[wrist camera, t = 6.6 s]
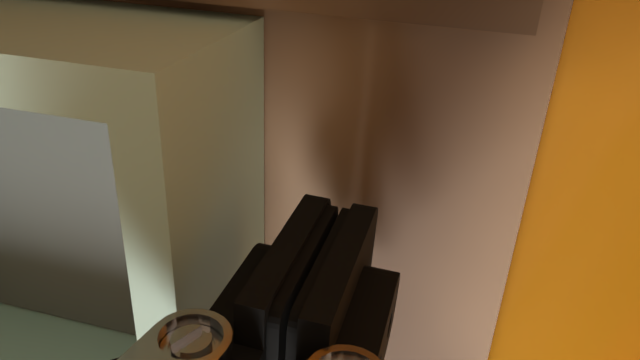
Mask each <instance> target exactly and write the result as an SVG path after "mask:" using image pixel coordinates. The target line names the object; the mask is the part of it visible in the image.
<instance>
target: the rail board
mask: <svg viewBox="0 0 640 360" xmlns="http://www.w3.org/2000/svg"><path fill="white" fill-rule="evenodd" d="M103 1H113V2H123V3H133V4H143V5H153V6H163V7H173V8H183V9H193V10H203V11H213V12H222V13H232V14H242V15H252V16H262V17H264V244H268V245H272V243H273V242H274V240H275V239H276V237H277V236H278V234H279V233H280V231H281V230H282V228H283V227H284V225H285V224H286V222H287V221H288V219H289V218H290V216H291V215H292V213H293V212H294V210H295V209H296V207H297V205H298V204H299V202H300V201H301V199H302V198H303V196H304V195H305V194H309V195H314V196H319V197H324V198H330V200H331V205H332V206H337V207H338V215H339V213H340V211H341V209H342V208H348V209H350V208H351V206H352V204H353V203H356V204H362V205H367V206H372V207H377V208H378V217H377V225H376V233H375V241H374V249H373V256H372V264H371V267H376V268H381V269H385V270H390V271H395V272H400V281H399V288H398V294H397V301H396V307H395V312H394V318H393V323H392V328H391V333H390V337H389V342H388V346H387V350H386V354H385V358H384V360H487V359H488V355H489V351H490V347H491V343H492V339H493V334H494V330H495V326H496V322H497V318H498V314H499V309H500V305H501V301H502V297H503V293H504V289H505V284H506V280H507V276H508V272H509V268H510V263H511V259H512V255H513V251H514V247H515V243H516V238H517V234H518V230H519V226H520V222H521V218H522V213H523V209H524V205H525V201H526V197H527V193H528V188H529V184H530V180H531V176H532V172H533V167H534V163H535V159H536V155H537V151H538V147H539V142H540V138H541V134H542V130H543V126H544V122H545V117H546V113H547V109H548V105H549V101H550V97H551V92H552V88H553V84H554V80H555V76H556V71H557V67H558V63H559V59H560V55H561V51H562V46H563V42H564V38H565V34H566V30H567V26H568V21H569V17H570V13H571V9H572V5H573V1H574V0H103Z"/></svg>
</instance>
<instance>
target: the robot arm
mask: <svg viewBox="0 0 640 360" xmlns="http://www.w3.org/2000/svg"><path fill="white" fill-rule="evenodd" d="M377 217H378V208H377V207H372V206H367V205H362V204H356V203H353V204H352V206H351V208H350V209H348V208H342V209H341V211H340V213H339V215H338V207H337V206H332V205H331V200H330V198H324V197H319V196H314V195H309V194H305V195H304V196H303V198H302V199H301V201H300V202H299V204H298V205H297V207H296V209H295V210H294V212H293V213H292V215H291V216H290V218H289V219H288V221H287V222H286V224H285V225H284V227H283V228H282V230H281V231H280V233H279V234H278V236H277V237H276V239H275V240H274V242H273V243H272V245H268V244H263V243H257V244H256V245H255V246H254V247H253V248H252V250H251V251H250V253H249V254H248V256H247V257H246V258H245V260H244V261H243V263H242V264H241V265H240V267H239V268H238V270H237V271H236V273H235V274H234V275H233V277H232V278H231V280H230V281H229V282H228V284H227V285H226V287H225V288H224V290H223V291H222V292H221V294H220V295H219V297H218V298H217V299H216V301H215V302H214V304H213V305H212V307H211V308H210V309H209V310H206V309H185V310H180V311H177V312H174V313H172V314H169V315H167V316H165V317H164V318H163V319H161V320H160V321H158V322H157V323H156V324H155V325H154V326H153V327H152V328H151V329H149V330H148V331H147V332H146V333H145V334H144V335H143V336H142V337H141V338H140V339H139V340H138V341H136V342H135V343H134V344H133V345H132V346H131V347H130V348H129V349H128V350H127V351H126V352H125V353H123V354H122V355H121V356H120V357H118V358H115V359H112V360H384V358H385V354H386V350H387V346H388V342H389V337H390V333H391V328H392V323H393V318H394V312H395V307H396V301H397V294H398V288H399V281H400V272H395V271H390V270H385V269H381V268H376V267H371V264H372V256H373V249H374V241H375V233H376V225H377Z"/></svg>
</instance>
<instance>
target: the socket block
mask: <svg viewBox="0 0 640 360" xmlns="http://www.w3.org/2000/svg"><path fill="white" fill-rule="evenodd" d="M257 243H263V244H264V17H262V16H252V15H242V14H232V13H222V12H213V11H203V10H193V9H183V8H173V7H163V6H153V5H143V4H133V3H123V2H113V1H103V0H0V360H112V359H115V358H118V357H120V356H121V355H122V354H123V353H125V352H126V351H127V350H128V349H129V348H130V347H131V346H132V345H133V344H134V343H135V342H136V341H138V340H139V339H140V338H141V337H142V336H143V335H144V334H145V333H146V332H147V331H148V330H149V329H151V328H152V327H153V326H154V325H155V324H156V323H157V322H158V321H160V320H161V319H163V318H164V317H165V316H167V315H169V314H172V313H174V312H177V311H180V310H185V309H206V310H209V309H210V308H211V307H212V305H213V304H214V302H215V301H216V299H217V298H218V297H219V295H220V294H221V292H222V291H223V290H224V288H225V287H226V285H227V284H228V282H229V281H230V280H231V278H232V277H233V275H234V274H235V273H236V271H237V270H238V268H239V267H240V265H241V264H242V263H243V261H244V260H245V258H246V257H247V256H248V254H249V253H250V251H251V250H252V248H253V247H254V246H255V245H256V244H257Z"/></svg>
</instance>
